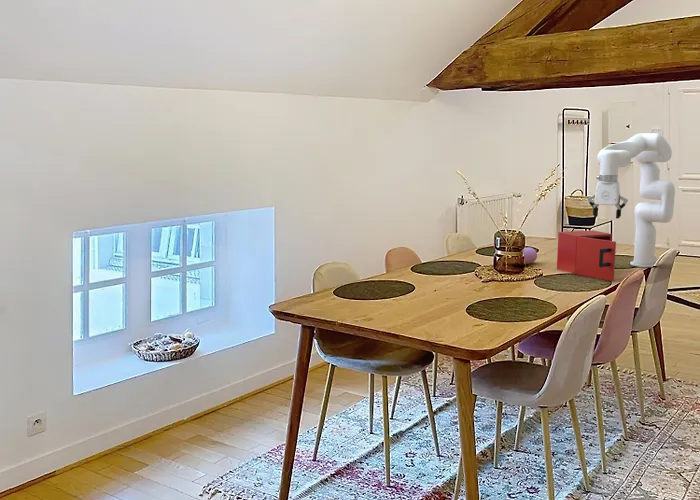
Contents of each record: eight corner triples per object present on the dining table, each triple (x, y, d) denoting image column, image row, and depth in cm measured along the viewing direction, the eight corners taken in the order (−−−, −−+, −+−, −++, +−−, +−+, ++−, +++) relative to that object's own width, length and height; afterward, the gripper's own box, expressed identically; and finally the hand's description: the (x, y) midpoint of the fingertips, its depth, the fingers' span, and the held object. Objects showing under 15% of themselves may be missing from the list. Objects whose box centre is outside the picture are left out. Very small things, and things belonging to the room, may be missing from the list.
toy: (524, 262, 366) (506, 266, 351) (525, 246, 366) (507, 248, 350) (539, 264, 362) (521, 267, 346) (540, 247, 361) (523, 250, 345)
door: (603, 282, 312) (605, 243, 309) (566, 275, 328) (568, 237, 325) (613, 280, 316) (616, 241, 313) (576, 273, 332) (578, 236, 329)
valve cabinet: (609, 271, 339) (612, 233, 336) (574, 274, 332) (576, 236, 329) (590, 266, 352) (592, 230, 349) (556, 268, 345) (558, 232, 343)
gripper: (586, 179, 316) (584, 217, 318) (626, 180, 306) (624, 219, 308) (591, 177, 322) (589, 215, 324) (631, 179, 311) (629, 217, 314)
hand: (606, 217), depth 316 cm, fingers open, 9 cm apart
